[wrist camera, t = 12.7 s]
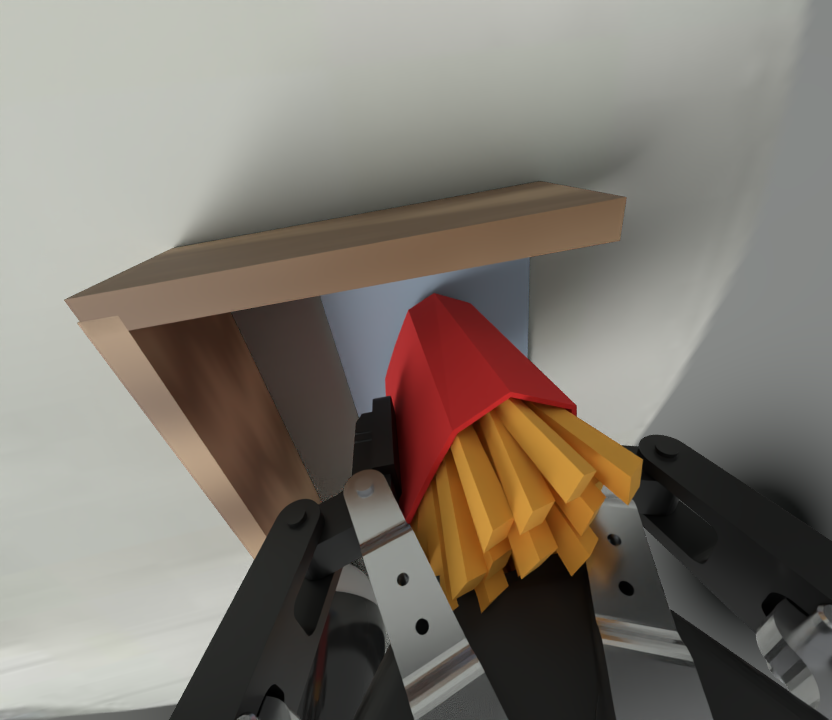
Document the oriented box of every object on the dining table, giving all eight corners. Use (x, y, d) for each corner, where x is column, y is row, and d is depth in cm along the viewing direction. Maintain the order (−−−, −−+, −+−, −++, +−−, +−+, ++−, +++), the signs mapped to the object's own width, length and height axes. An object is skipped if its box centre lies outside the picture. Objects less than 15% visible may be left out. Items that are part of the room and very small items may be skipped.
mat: (525, 396, 21) (526, 399, 21) (362, 426, 21) (362, 429, 21) (528, 224, 16) (530, 225, 15) (311, 264, 16) (310, 266, 15)
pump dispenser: (261, 607, 31) (177, 940, 18) (258, 538, 26) (136, 935, 13) (375, 606, 33) (375, 906, 20) (394, 541, 27) (409, 890, 14)
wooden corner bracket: (530, 481, 25) (569, 565, 20) (312, 521, 25) (296, 615, 20) (540, 181, 15) (626, 197, 10) (170, 248, 15) (60, 300, 10)
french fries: (438, 419, 20) (515, 700, 10) (371, 407, 19) (380, 709, 9) (501, 282, 16) (738, 513, 6) (421, 257, 15) (541, 488, 5)
